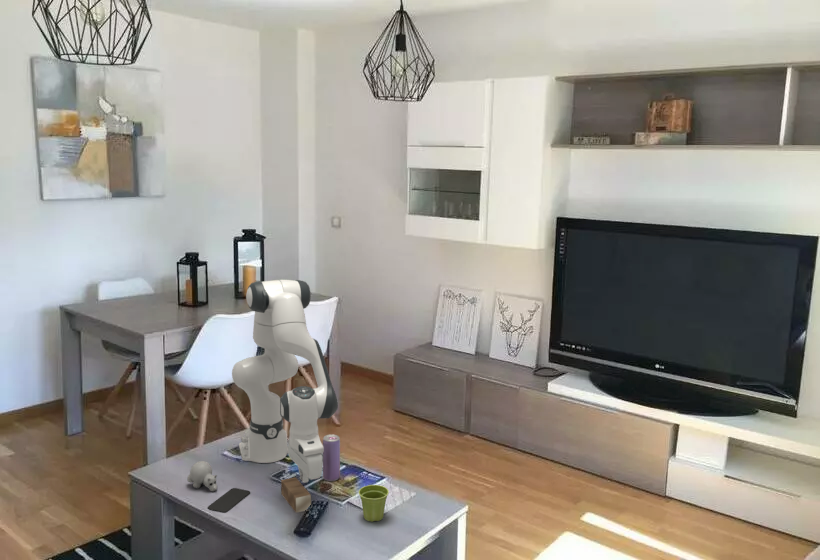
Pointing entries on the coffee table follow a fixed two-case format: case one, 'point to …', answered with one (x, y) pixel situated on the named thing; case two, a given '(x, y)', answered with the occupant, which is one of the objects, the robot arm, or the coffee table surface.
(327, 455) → the beverage can
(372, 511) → the plant pot
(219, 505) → the phone
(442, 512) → the coffee table surface
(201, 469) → the round bodied animal figurine
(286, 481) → the walnut block
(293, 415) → the robot arm
